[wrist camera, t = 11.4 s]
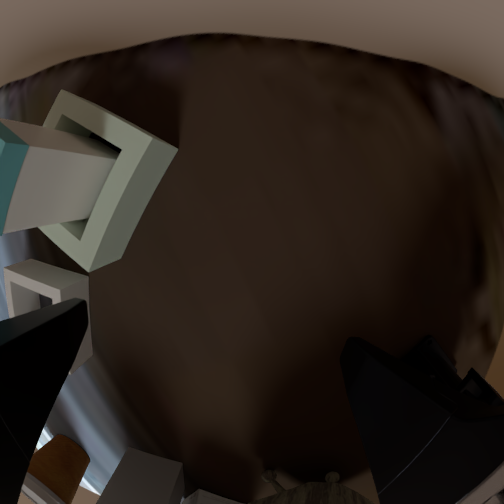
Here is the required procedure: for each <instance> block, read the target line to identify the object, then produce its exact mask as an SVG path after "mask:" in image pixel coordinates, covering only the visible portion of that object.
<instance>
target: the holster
mask: <svg viewBox="0 0 504 504" xmlns="http://www.w3.org/2000/svg"><path fill="white" fill-rule="evenodd" d="M4 279H5V288H6V297H7V304H8V311H9V317H10V318H12V317H15V316H18V315H21V314H25V313H28V312H31V311H34V310H37V309H40V308H41V307H40V297H39V294H42V295H44V296H47V297H49V298H52V302H53V304H56V303H59V302H62V301H66V300H69V299H72V298H80V299H84V300H85V301H86V302H87V309H88V321H89V323H88V328H87V331H86V333H85V336H84V338H83V341H82V343H81V346H80V348H79V351H78V354H77V356H76V359H75V361H74V363H73V365H72V368H71V369H70V371H69V373H68V374H70V375H71V374H72V373H73V372H74V371H75V370H77V369H78V368H79V367H80V366H81V365H82V364H83V363H84V362H85V361H86V360H88V359H89V358H90V357H91V356H92V355H93V349H92V339H91V326H90V309H89V276H86V275H82V274H79V273H75V272H72V271H69V270H65V269H62V268H59V267H56V266H53V265H49V264H46V263H43V262H40V261H37V260H34V259H28V260H25V261H22V262H19V263H16V264H13V265H10V266H7V267H4Z"/></svg>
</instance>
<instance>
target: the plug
mask: <svg viewBox="0 0 504 504" xmlns="http://www.w3.org/2000/svg"><path fill="white" fill-rule="evenodd" d="M119 154H120V153H118V152H116V151H115V150H113V149H111V148H110V147H108V146H107V145H105V144H103V143H102V142H100V141H99V140H96V139H92V138H88V137H84V136H80V135H76V134H72V133H68V132H64V131H59V130H55V129H51V128H46V127H42V126H37V125H32V124H27V123H22V122H17V121H12V120H7V119H1V118H0V236H2V234H4V233H9V232H14V231H19V230H24V229H29V228H34V227H40V226H45V225H51V224H56V223H62V222H68V221H74V220H80V219H87V218H90V215H91V213H92V211H93V208H94V206H95V204H96V202H97V199H98V197H99V195H100V193H101V191H102V188H103V186H104V184H105V182H106V180H107V178H108V176H109V174H110V172H111V170H112V168H113V166H114V164H115V162H116V160H117V158H118V156H119Z"/></svg>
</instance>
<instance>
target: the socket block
mask: <svg viewBox="0 0 504 504" xmlns="http://www.w3.org/2000/svg"><path fill="white" fill-rule="evenodd" d="M43 127H46V128H51V129H55V130H59V131H64V132H68V133H72V134H76V135H80V136H84V137H88V138H89V136H90V134H91V133H92V132H94V133H95V134H97V135H99V136H100V137H102V138H104V139H105V140H107V141H109V142H110V143H112V144H114V145H115V146H117V147H119V148H120V149H122V151H121V152H120V154H119V156H118V158H117V160H116V162H115V164H114V166H113V168H112V170H111V172H110V174H109V176H108V178H107V180H106V182H105V184H104V186H103V188H102V191H101V193H100V195H99V197H98V199H97V202H96V204H95V206H94V208H93V211H92V213H91V215H90V218H87V219H80V220H74V221H68V222H62V223H56V224H51V225H45V226H40V227H38V228H39V229H40V230H41V231H42V232H43V233H44V234H45V235H46V236H47V237H49V238H50V239H51V240H52V241H53V242H54V243H55V244H56V245H57V246H58V247H59V248H61V249H62V250H63V251H64V252H65V253H66V254H67V255H68V256H70V257H71V258H72V259H73V260H74V261H75V262H77V263H78V264H79V265H80V266H81V267H83V268H84V269H85V270H86V271H87V272H91V271H93V270H95V269H98V268H100V267H102V266H105V265H107V264H109V263H112V262H114V261H116V260H119V259H121V257H122V255H123V253H124V251H125V248H126V246H127V244H128V242H129V240H130V238H131V236H132V234H133V232H134V230H135V228H136V226H137V224H138V222H139V220H140V218H141V216H142V214H143V212H144V210H145V208H146V206H147V204H148V202H149V200H150V198H151V197H152V195H153V193H154V191H155V189H156V187H157V186H158V184H159V182H160V180H161V178H162V177H163V175H164V173H165V171H166V170H167V168H168V166H169V164H170V163H171V161H172V159H173V158H174V156H175V154H176V153H177V151H178V149H177V148H176V147H174V146H172V145H170V144H169V143H167V142H165V141H163V140H162V139H160V138H158V137H156V136H154V135H153V134H151V133H149V132H147V131H146V130H144V129H142V128H140V127H138V126H136V125H135V124H133V123H131V122H129V121H127V120H125V119H124V118H122V117H120V116H118V115H116V114H114V113H112V112H110V111H108V110H107V109H105V108H103V107H101V106H99V105H97V104H95V103H93V102H91V101H88V100H86V99H84V98H81V97H79V96H77V95H74V94H72V93H69V92H67V91H64V90H62V89H61V91H60V93H59V95H58V96H57V98H56V100H55V102H54V104H53V106H52V108H51V110H50V112H49V114H48V116H47V118H46V120H45V122H44V124H43Z"/></svg>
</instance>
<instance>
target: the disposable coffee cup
mask: <svg viewBox="0 0 504 504" xmlns="http://www.w3.org/2000/svg"><path fill="white" fill-rule="evenodd" d="M89 462H90V459H89V457H88V455H87V454H86V452H85V451H84V450H83V449H82V448H81V447H80V446H79V445H78V444H76V443H75V442H74V441H72V440H71V439H69V438H68V437H66V436H63V435H56V436H55V437H54V438H53V439H51V440H50V441H49V442H48V443H46V444H45V445H44V446H43V447H42V448H40V449H39V450H38V451H37V452H36V453H34V454H33V456H32V459H31V461H30V465H29V468H28V470H27V473H26V476H25V479H24V483H23V486H22V489H21V492H22V493H23V494H24V495H25V496H26V497H28V498H29V499H30V500H31V501H32V502H33V503H35V504H71V503H72V500H73V498H74V496H75V493H76V491H77V489H78V486H79V484H80V482H81V480H82V477H83V475H84V473H85V471H86V469H87V466H88V464H89Z"/></svg>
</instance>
